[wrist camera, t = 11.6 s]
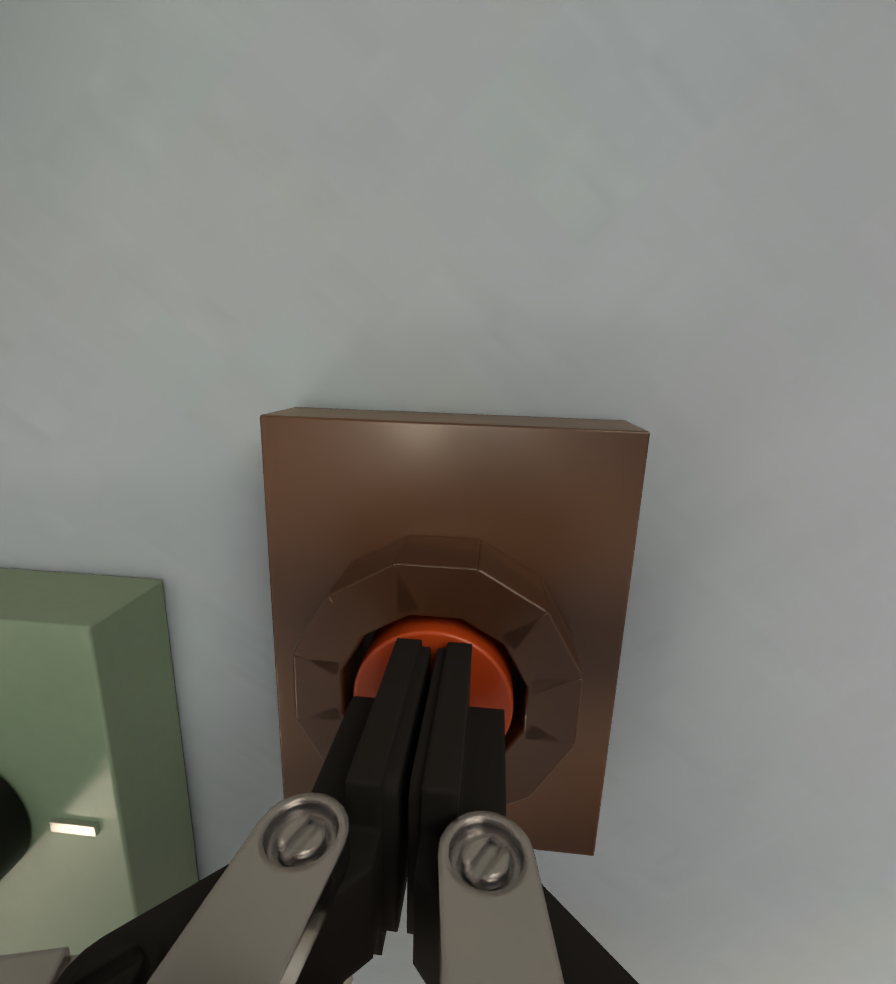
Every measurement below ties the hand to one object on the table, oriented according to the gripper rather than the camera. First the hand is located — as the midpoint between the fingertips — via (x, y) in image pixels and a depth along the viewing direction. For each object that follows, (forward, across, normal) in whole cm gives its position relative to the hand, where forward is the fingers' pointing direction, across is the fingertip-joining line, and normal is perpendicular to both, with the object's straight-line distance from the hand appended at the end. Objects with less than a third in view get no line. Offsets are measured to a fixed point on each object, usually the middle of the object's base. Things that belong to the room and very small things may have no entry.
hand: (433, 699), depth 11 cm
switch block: (+4, 0, 0) cm, 4 cm away
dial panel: (+4, +14, +6) cm, 16 cm away
